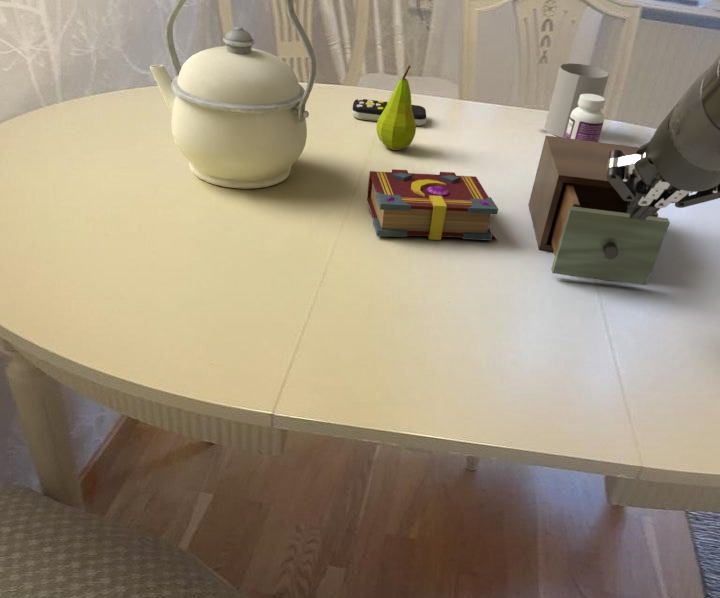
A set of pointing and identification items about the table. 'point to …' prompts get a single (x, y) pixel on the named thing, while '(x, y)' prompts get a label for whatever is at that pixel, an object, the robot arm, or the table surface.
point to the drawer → (603, 236)
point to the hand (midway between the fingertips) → (636, 210)
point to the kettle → (237, 108)
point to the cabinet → (566, 177)
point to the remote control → (375, 108)
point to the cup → (572, 93)
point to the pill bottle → (586, 118)
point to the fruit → (397, 118)
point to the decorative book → (429, 205)
